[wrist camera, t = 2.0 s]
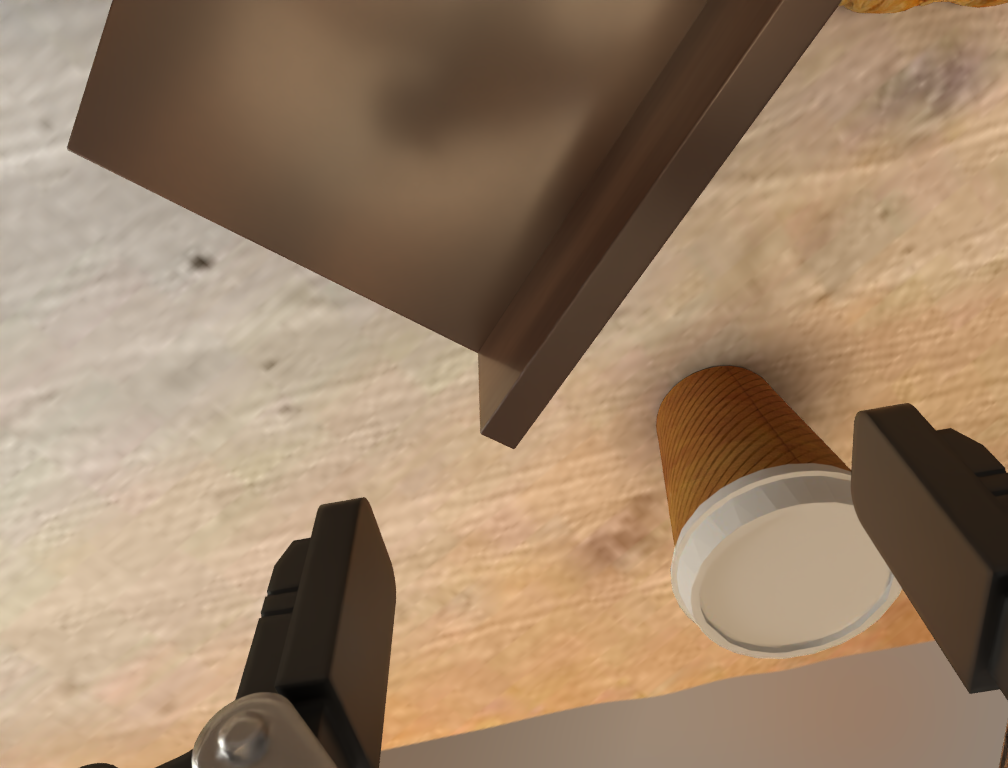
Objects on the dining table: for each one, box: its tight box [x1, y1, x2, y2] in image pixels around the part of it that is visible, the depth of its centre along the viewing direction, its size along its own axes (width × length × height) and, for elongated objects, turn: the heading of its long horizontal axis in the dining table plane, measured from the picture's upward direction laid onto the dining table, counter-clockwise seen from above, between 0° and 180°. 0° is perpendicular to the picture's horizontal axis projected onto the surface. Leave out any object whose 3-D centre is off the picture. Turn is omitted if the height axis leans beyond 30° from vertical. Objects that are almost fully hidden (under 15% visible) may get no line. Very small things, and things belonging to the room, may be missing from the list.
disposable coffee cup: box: [656, 366, 902, 659], centre depth 36 cm, size 10×10×12 cm
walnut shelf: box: [67, 0, 842, 449], centre depth 24 cm, size 15×16×15 cm
